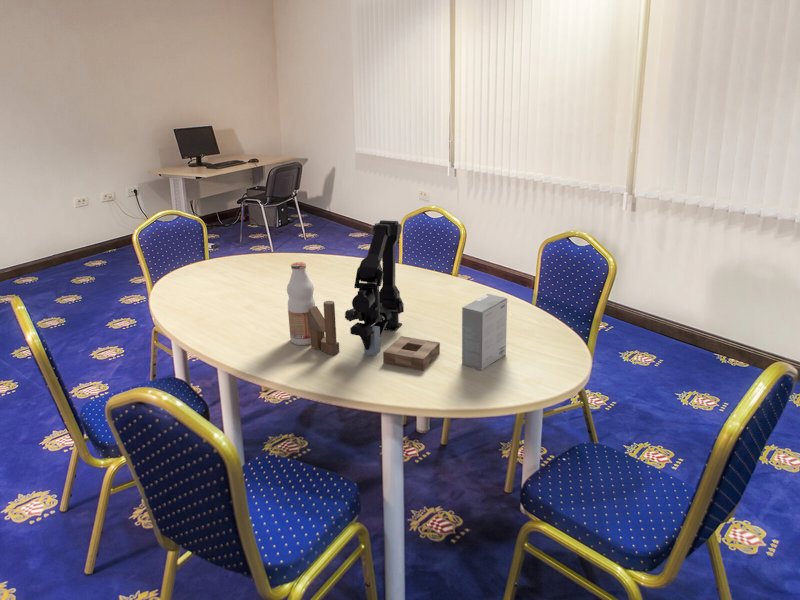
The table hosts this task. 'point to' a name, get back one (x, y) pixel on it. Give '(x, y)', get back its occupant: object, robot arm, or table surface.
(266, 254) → the table surface
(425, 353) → the mortise block
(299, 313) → the fruit juice
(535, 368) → the table surface
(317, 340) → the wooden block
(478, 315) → the hard drive box
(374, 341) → the tenon peg
